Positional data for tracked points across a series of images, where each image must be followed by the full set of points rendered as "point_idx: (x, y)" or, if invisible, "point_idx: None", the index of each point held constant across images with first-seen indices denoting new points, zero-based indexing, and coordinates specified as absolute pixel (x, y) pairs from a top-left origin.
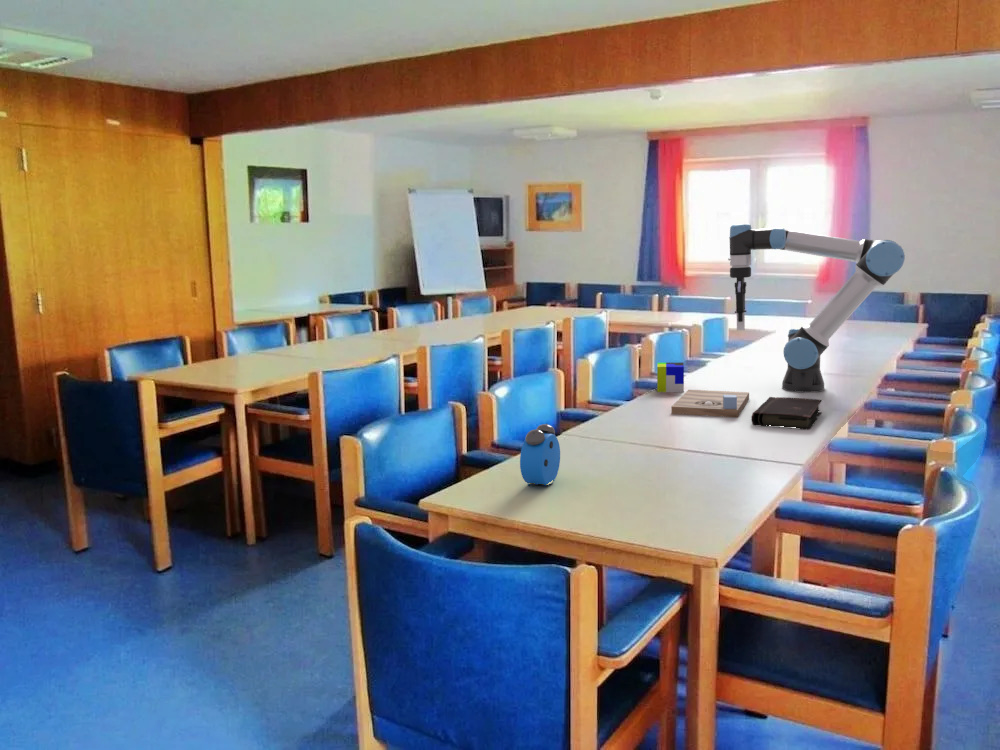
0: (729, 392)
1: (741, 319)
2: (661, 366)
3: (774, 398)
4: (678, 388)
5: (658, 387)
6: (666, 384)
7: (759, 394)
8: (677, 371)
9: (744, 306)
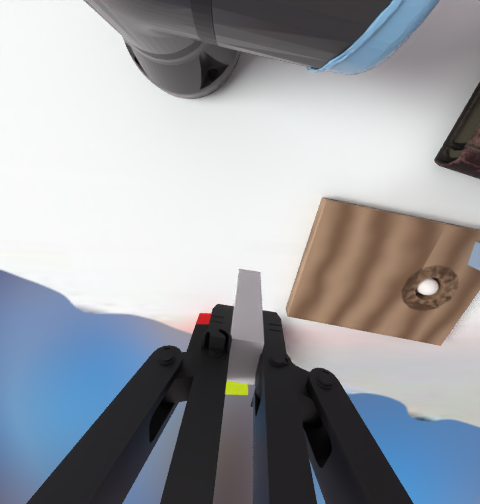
0: (323, 243)
1: (280, 326)
2: (243, 388)
3: (477, 148)
4: None
5: None
6: None
7: (269, 168)
8: None
9: (171, 376)
